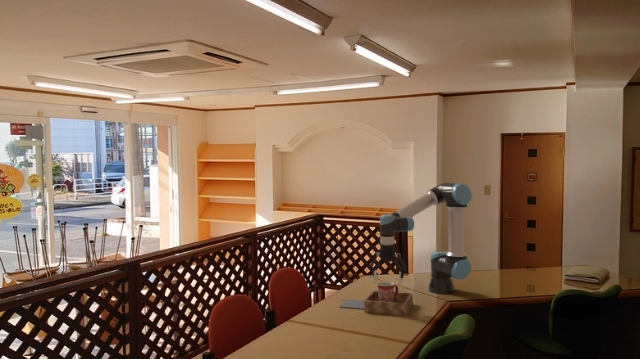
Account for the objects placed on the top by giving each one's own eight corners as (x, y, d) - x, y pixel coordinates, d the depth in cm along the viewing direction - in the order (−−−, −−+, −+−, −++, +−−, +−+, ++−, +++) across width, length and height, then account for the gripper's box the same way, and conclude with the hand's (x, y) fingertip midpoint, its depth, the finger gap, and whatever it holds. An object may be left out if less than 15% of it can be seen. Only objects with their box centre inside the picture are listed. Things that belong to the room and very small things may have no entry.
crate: (412, 304, 261) (412, 293, 261) (406, 315, 242) (405, 303, 242) (373, 301, 269) (373, 290, 269) (364, 312, 250) (363, 300, 250)
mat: (370, 301, 267) (370, 300, 267) (364, 309, 254) (364, 308, 254) (347, 300, 272) (347, 299, 272) (339, 307, 259) (339, 306, 259)
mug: (384, 312, 249) (383, 286, 248) (374, 307, 257) (373, 283, 256) (403, 308, 255) (403, 283, 254) (393, 303, 263) (392, 279, 262)
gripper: (412, 243, 253) (412, 283, 254) (366, 241, 262) (367, 280, 263) (409, 246, 246) (410, 286, 247) (362, 244, 255) (363, 283, 256)
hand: (387, 283), depth 255 cm, fingers open, 13 cm apart
